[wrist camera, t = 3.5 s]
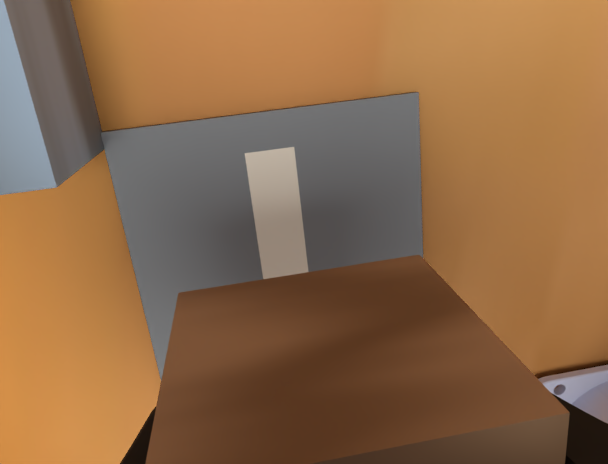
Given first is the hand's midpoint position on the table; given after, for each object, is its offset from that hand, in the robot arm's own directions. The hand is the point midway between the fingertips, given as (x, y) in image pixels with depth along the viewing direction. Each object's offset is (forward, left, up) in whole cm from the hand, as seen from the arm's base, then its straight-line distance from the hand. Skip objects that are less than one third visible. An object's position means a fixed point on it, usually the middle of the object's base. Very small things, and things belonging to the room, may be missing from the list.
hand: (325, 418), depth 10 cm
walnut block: (0, 0, -1) cm, 1 cm away
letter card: (0, 0, -8) cm, 8 cm away
